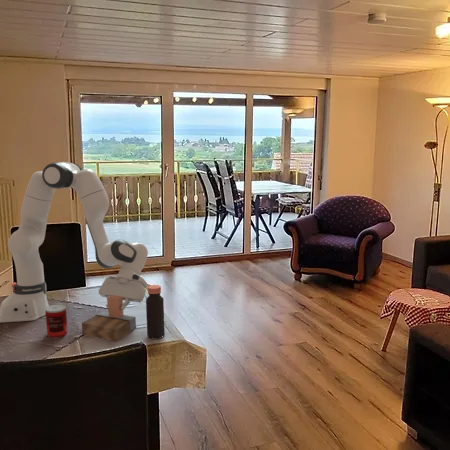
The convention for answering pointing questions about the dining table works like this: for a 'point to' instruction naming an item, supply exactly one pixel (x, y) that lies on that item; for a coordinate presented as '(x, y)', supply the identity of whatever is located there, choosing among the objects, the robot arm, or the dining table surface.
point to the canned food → (56, 321)
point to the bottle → (155, 312)
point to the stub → (118, 311)
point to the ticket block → (105, 327)
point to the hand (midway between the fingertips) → (114, 308)
